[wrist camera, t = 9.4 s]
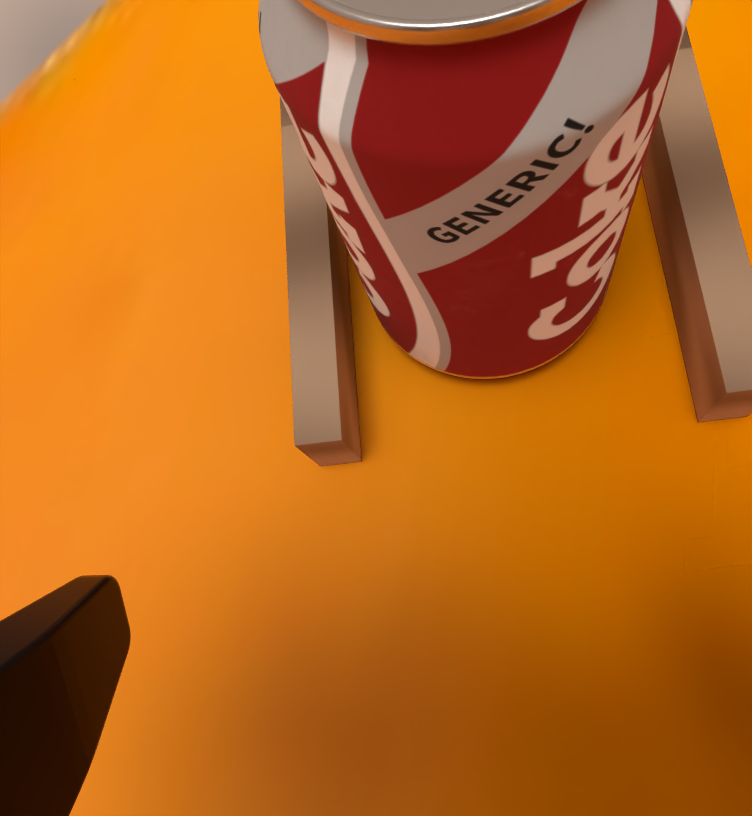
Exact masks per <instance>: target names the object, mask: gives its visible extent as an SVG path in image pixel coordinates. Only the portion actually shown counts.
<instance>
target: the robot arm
mask: <svg viewBox="0 0 752 816" xmlns="http://www.w3.org/2000/svg"><path fill="white" fill-rule="evenodd" d="M129 646H130V627H129V623H128V619H127V615H126V610H125V606H124V602H123V598H122V594H121V590H120V586H119V584H118V582H117V580H116V579H115V578H114V577H112V576H111V575H90V576H80V577H77V578H75V579H74V580H72V581H70V582H68V583H67V584H65V585H63V586H61V587H60V588H58V589H56V590H54V591H53V592H51V593H49V594H47V595H45V596H44V597H42V598H40V599H38V600H37V601H35V602H33V603H31V604H30V605H28V606H26V607H24V608H23V609H21V610H19V611H17V612H15V613H14V614H12V615H10V616H8V617H7V618H5V619H3V620H1V621H0V816H69V814H70V812H71V810H72V808H73V805H74V803H75V801H76V799H77V796H78V794H79V792H80V790H81V787H82V785H83V782H84V780H85V778H86V775H87V773H88V770H89V768H90V765H91V763H92V760H93V757H94V754H95V751H96V749H97V746H98V743H99V740H100V737H101V734H102V730H103V727H104V724H105V721H106V718H107V715H108V712H109V709H110V706H111V703H112V700H113V697H114V694H115V691H116V687H117V684H118V681H119V678H120V675H121V672H122V669H123V666H124V663H125V660H126V657H127V654H128V650H129Z"/></svg>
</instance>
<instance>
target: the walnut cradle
mask: <svg viewBox="0 0 752 816" xmlns="http://www.w3.org/2000/svg"><path fill="white" fill-rule="evenodd" d="M280 108H281V132H282V156H283V179H284V203H285V227H286V251H287V274H288V298H289V322H290V346H291V369H292V393H293V417H294V441H295V446H296V447H297V448H298V449H300V450H301V451H302V452H303V453H304V454H306V455H307V456H308V457H309V458H311V459H312V460H313V461H314V462H316V463H317V464H318V465H319V466H326V465H335V464H343V463H352V462H360V461H362V459H361V445H360V431H359V417H358V403H357V389H356V375H355V362H354V348H353V334H352V320H351V306H350V292H349V278H348V264H347V250H346V244H345V242H344V240H343V238H342V235H341V233H340V231H339V228H338V226H337V224H336V222H335V219H334V217H333V215H332V213H331V210H330V208H329V206H328V204H327V201H326V199H325V197H324V194H323V192H322V190H321V188H320V185H319V183H318V181H317V179H316V176H315V174H314V172H313V169H312V167H311V165H310V163H309V160H308V158H307V156H306V154H305V151H304V149H303V147H302V145H301V142H300V140H299V138H298V135H297V133H296V131H295V129H294V126H293V124H292V122H291V120H290V117H289V115H288V113H287V110H286V108H285V106H284V104H283V101H282V99H281V97H280ZM642 176H643V181H644V185H645V190H646V194H647V198H648V203H649V207H650V212H651V216H652V221H653V225H654V229H655V234H656V238H657V243H658V247H659V252H660V256H661V260H662V265H663V269H664V274H665V278H666V282H667V287H668V291H669V296H670V300H671V305H672V309H673V313H674V318H675V322H676V327H677V331H678V335H679V340H680V344H681V349H682V353H683V358H684V362H685V366H686V371H687V375H688V380H689V384H690V388H691V393H692V397H693V402H694V406H695V411H696V415H697V419H698V422H703V421H711V420H720V419H728V418H737V417H746V416H748V415H749V414H750V413H751V412H752V269H751V265H750V262H749V258H748V254H747V251H746V247H745V243H744V239H743V236H742V232H741V228H740V225H739V221H738V217H737V213H736V210H735V206H734V202H733V199H732V195H731V191H730V187H729V184H728V180H727V176H726V173H725V169H724V165H723V161H722V158H721V154H720V150H719V147H718V143H717V139H716V135H715V132H714V128H713V124H712V121H711V117H710V113H709V109H708V106H707V102H706V98H705V95H704V91H703V87H702V84H701V80H700V76H699V72H698V69H697V65H696V61H695V58H694V54H693V50H692V46H691V43H690V39H689V35H688V32H687V28H686V27H685V30H684V33H683V37H682V40H681V44H680V47H679V50H678V54H677V57H676V60H675V64H674V67H673V70H672V74H671V77H670V80H669V84H668V87H667V90H666V94H665V97H664V100H663V104H662V107H661V110H660V114H659V117H658V120H657V124H656V127H655V130H654V134H653V137H652V140H651V144H650V147H649V150H648V154H647V157H646V160H645V164H644V167H643V170H642Z"/></svg>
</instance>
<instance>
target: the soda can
mask: <svg viewBox="0 0 752 816" xmlns="http://www.w3.org/2000/svg"><path fill="white" fill-rule="evenodd" d="M692 1H693V0H260V1H259V32H260V39H261V45H262V50H263V53H264V57H265V60H266V64H267V67H268V69H269V72H270V74H271V76H272V79H273V81H274V83H275V86H276V88H277V90H278V92H279V95H280V97H281V99H282V101H283V104H284V106H285V108H286V110H287V113H288V115H289V117H290V120H291V122H292V124H293V126H294V129H295V131H296V133H297V135H298V138H299V140H300V142H301V145H302V147H303V149H304V151H305V154H306V156H307V158H308V160H309V163H310V165H311V167H312V169H313V172H314V174H315V176H316V179H317V181H318V183H319V185H320V188H321V190H322V192H323V194H324V197H325V199H326V201H327V204H328V206H329V208H330V210H331V213H332V215H333V217H334V219H335V222H336V224H337V226H338V228H339V231H340V233H341V235H342V238H343V240H344V242H345V244H346V247H347V249H348V251H349V253H350V256H351V258H352V260H353V262H354V265H355V267H356V269H357V272H358V274H359V276H360V278H361V281H362V283H363V285H364V287H365V290H366V292H367V294H368V297H369V299H370V301H371V303H372V306H373V308H374V310H375V312H376V315H377V317H378V319H379V321H380V323H381V324H382V326H383V328H384V329H385V331H386V332H387V333H388V335H389V336H390V338H391V339H392V340H393V341H394V342H395V343H396V344H397V345H398V346H399V347H400V348H401V349H402V350H403V351H404V352H406V353H407V354H408V355H410V356H411V357H412V358H414V359H415V360H417V361H419V362H420V363H422V364H424V365H426V366H428V367H430V368H432V369H434V370H437V371H440V372H443V373H446V374H449V375H453V376H458V377H464V378H473V379H495V378H502V377H509V376H513V375H517V374H521V373H524V372H527V371H530V370H533V369H535V368H537V367H540V366H542V365H544V364H546V363H547V362H549V361H551V360H553V359H555V358H556V357H557V356H559V355H560V354H562V353H563V352H565V351H566V350H567V349H568V348H570V347H571V346H572V345H573V344H574V343H575V342H576V341H577V340H578V339H579V338H580V337H581V336H582V335H583V334H584V332H585V331H586V330H587V329H588V327H589V326H590V325H591V323H592V322H593V320H594V318H595V317H596V315H597V313H598V311H599V309H600V307H601V305H602V302H603V300H604V297H605V294H606V291H607V287H608V284H609V281H610V277H611V274H612V271H613V267H614V264H615V261H616V257H617V254H618V251H619V247H620V244H621V241H622V237H623V234H624V231H625V227H626V224H627V221H628V217H629V214H630V211H631V207H632V204H633V201H634V197H635V194H636V191H637V187H638V184H639V181H640V177H641V174H642V170H643V167H644V164H645V160H646V157H647V154H648V150H649V147H650V144H651V140H652V137H653V134H654V130H655V127H656V124H657V120H658V117H659V114H660V110H661V107H662V104H663V100H664V97H665V94H666V90H667V87H668V84H669V80H670V77H671V74H672V70H673V67H674V64H675V60H676V57H677V54H678V50H679V47H680V44H681V40H682V37H683V33H684V30H685V27H686V23H687V20H688V17H689V13H690V9H691V5H692Z"/></svg>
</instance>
